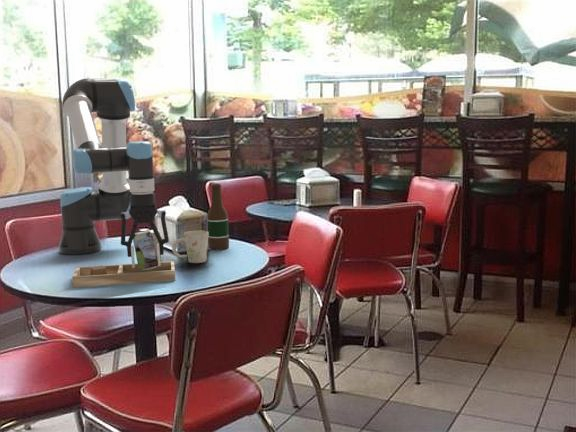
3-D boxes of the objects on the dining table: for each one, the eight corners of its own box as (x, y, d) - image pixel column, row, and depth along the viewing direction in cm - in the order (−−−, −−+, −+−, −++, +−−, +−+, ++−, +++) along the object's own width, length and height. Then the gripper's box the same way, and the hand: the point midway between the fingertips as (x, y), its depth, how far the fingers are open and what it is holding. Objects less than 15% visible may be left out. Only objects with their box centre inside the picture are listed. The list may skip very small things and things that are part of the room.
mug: (211, 262, 241) (210, 233, 239) (174, 266, 238) (173, 236, 236) (207, 257, 249) (206, 229, 247) (171, 260, 245) (169, 232, 244)
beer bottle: (208, 246, 268) (205, 183, 264) (228, 245, 269) (226, 182, 265) (208, 250, 260) (205, 185, 256) (229, 249, 261) (227, 184, 257)
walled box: (78, 279, 223) (77, 267, 222) (174, 273, 228) (173, 261, 227) (73, 290, 210) (72, 277, 209) (175, 283, 215) (174, 270, 214)
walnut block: (90, 279, 218) (89, 267, 217) (103, 277, 220) (102, 265, 219) (94, 282, 215) (93, 269, 214) (107, 280, 217) (106, 267, 216)
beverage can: (153, 272, 216) (151, 233, 214) (131, 271, 217) (128, 233, 215) (161, 267, 222) (159, 229, 220) (139, 266, 223) (137, 229, 221)
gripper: (107, 195, 210) (112, 271, 214) (175, 192, 213) (179, 266, 217) (109, 192, 217) (114, 265, 221) (175, 189, 221) (178, 261, 225)
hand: (146, 265), depth 219 cm, fingers closed on beverage can, 7 cm apart
